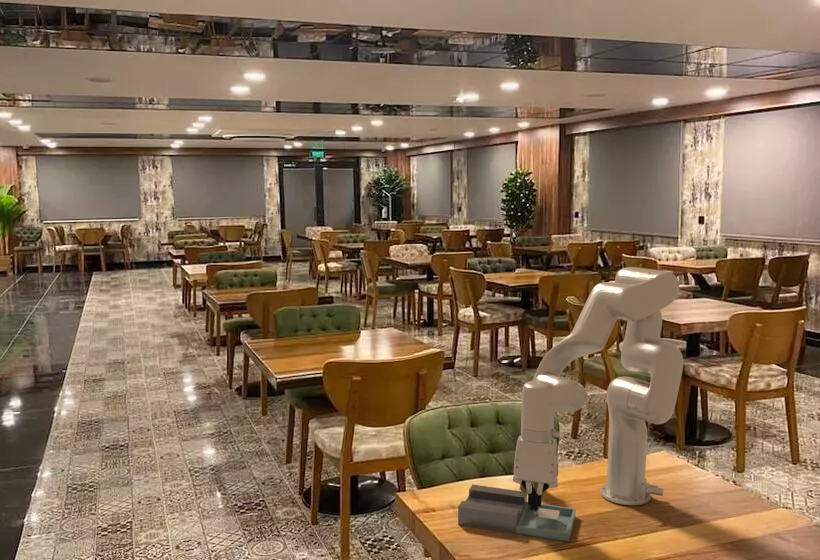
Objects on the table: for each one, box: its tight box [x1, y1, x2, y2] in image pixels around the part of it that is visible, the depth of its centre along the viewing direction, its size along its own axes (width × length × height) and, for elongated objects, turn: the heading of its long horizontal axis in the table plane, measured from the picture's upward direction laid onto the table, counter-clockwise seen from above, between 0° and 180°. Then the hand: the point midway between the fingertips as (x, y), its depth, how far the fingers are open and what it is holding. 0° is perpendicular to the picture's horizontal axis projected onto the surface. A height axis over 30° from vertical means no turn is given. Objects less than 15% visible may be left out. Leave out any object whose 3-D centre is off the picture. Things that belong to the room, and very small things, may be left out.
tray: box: [515, 501, 577, 543], centre depth 173 cm, size 12×14×2 cm
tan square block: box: [536, 508, 560, 530], centre depth 173 cm, size 5×5×2 cm
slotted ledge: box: [457, 484, 528, 535], centre depth 177 cm, size 14×14×4 cm
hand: (534, 508), depth 174 cm, fingers closed
